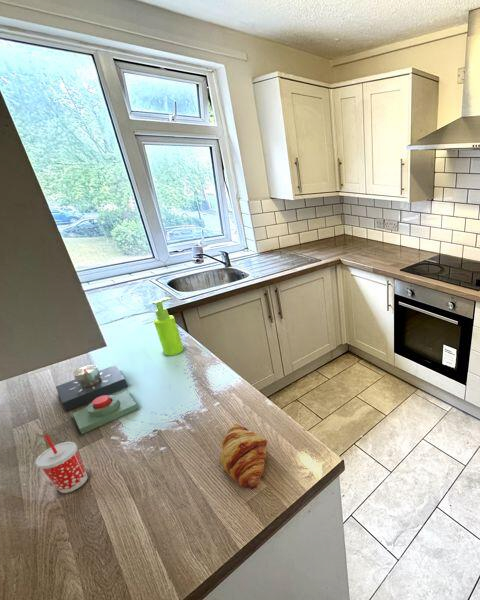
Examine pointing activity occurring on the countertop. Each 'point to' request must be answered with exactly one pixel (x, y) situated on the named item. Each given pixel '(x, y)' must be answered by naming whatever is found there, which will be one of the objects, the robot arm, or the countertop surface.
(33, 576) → the countertop surface
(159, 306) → the soap dispenser
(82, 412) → the button block
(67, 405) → the dial panel
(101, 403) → the button
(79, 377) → the dial
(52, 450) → the beverage cup
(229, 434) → the croissant
